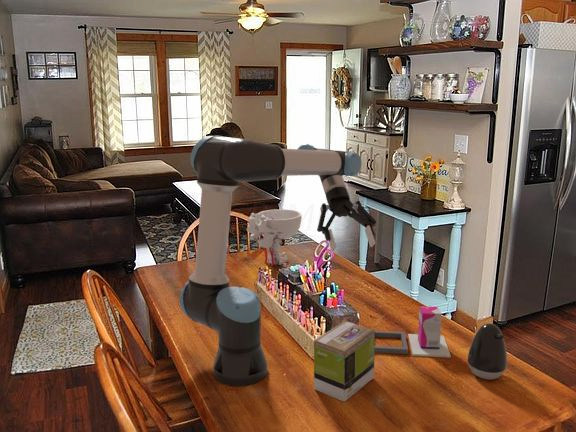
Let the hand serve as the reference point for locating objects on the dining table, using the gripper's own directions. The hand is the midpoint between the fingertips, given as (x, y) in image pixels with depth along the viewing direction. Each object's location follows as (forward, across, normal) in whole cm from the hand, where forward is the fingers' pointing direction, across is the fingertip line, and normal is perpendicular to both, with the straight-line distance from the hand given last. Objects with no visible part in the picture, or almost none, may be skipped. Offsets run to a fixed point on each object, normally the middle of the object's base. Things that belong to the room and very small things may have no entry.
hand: (353, 247), depth 170 cm
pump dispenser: (+47, -23, +8) cm, 53 cm away
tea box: (+42, +16, +2) cm, 45 cm away
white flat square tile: (+34, -17, -6) cm, 38 cm away
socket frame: (+30, -5, -9) cm, 32 cm away
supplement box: (+33, -17, -5) cm, 37 cm away
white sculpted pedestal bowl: (-28, +6, -67) cm, 73 cm away
